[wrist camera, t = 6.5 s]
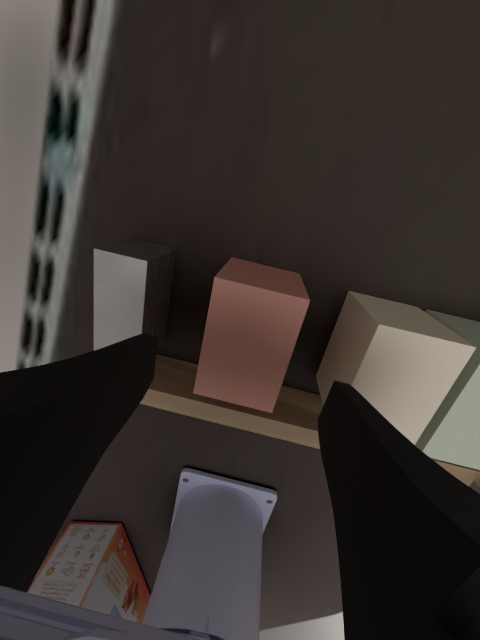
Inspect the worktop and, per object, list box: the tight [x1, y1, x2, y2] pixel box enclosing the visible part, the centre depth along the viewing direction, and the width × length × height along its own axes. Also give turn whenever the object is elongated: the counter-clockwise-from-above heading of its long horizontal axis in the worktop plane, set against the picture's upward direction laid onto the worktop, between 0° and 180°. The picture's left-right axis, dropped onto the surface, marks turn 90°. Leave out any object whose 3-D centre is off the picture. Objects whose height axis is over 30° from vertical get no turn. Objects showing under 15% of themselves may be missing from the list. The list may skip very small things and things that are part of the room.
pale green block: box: [415, 309, 480, 470], centre depth 14 cm, size 6×4×5 cm, turn 168°
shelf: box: [140, 354, 480, 489], centre depth 14 cm, size 10×24×7 cm, turn 78°
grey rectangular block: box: [94, 239, 176, 350], centre depth 15 cm, size 6×2×4 cm, turn 168°
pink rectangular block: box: [193, 257, 310, 413], centre depth 15 cm, size 6×4×5 cm, turn 168°
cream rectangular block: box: [316, 291, 477, 445], centre depth 15 cm, size 6×4×5 cm, turn 168°
